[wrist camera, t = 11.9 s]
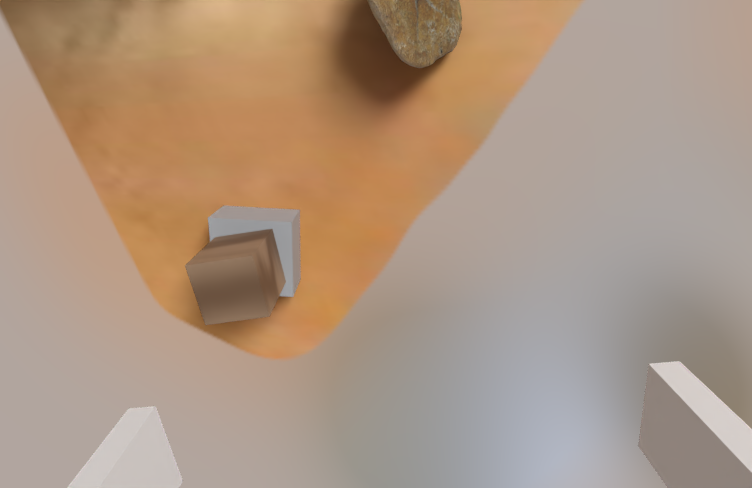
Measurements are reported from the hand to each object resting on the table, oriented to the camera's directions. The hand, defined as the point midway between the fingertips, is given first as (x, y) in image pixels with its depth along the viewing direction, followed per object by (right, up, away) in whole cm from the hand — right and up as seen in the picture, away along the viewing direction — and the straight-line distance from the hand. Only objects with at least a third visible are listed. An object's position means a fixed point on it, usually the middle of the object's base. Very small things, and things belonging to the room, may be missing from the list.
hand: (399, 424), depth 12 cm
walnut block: (-11, +4, +26) cm, 28 cm away
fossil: (+2, +24, +22) cm, 33 cm away
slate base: (-11, +5, +29) cm, 32 cm away
